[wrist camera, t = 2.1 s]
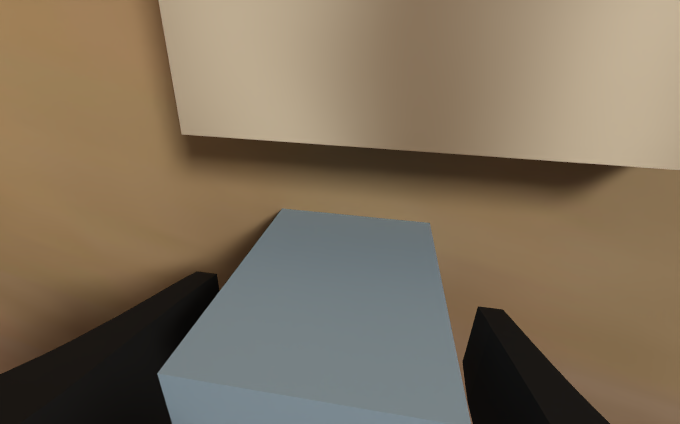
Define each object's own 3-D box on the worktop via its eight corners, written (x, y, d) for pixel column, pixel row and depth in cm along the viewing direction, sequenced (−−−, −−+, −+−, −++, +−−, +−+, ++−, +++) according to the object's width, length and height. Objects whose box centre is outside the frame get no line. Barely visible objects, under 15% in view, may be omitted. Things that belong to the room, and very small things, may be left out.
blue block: (429, 222, 10) (471, 427, 4) (410, 335, 12) (423, 573, 6) (282, 208, 10) (157, 373, 5) (287, 317, 12) (202, 523, 7)
